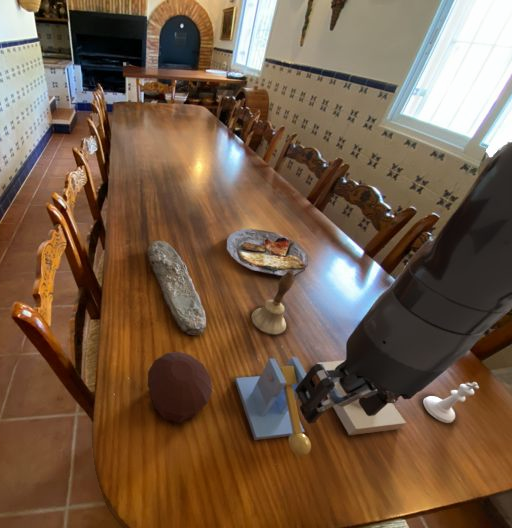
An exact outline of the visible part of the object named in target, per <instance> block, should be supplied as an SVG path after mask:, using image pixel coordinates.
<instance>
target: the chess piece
mask: <svg viewBox="0 0 512 528" xmlns="http://www.w3.org/2000/svg"><path fill="white" fill-rule="evenodd" d="M474 389H475V390H479V389H480V386H479V385H478V383H477V382H476V381H473V382H471V383H470V382H465V383H461V384H459V387H458V389H452V390H450V394H451V395H450V396H448V397H446V398H444V399H442V398H440V397H438V396H435V395H429V396H426V397H424V399H423V406H424V408H425V410H426V411H427V413H428V414H429V415H431V416H432V417H433V418H435V419H436V420H437V421H440V422H442V423H446V424H449V423H453V422H454V420H455V419H456V413H455V410H454V408H453V406H454V405H455V404H456V403H457V402H462V403H463V402H465V401H466V397H468V396H474V394H475V390H474Z"/></svg>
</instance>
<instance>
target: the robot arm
mask: <svg viewBox="0 0 512 528" xmlns="http://www.w3.org/2000/svg"><path fill="white" fill-rule="evenodd" d="M511 310H512V127H509V128H508V129H506V131H504V132H503V133H501V134H500V135H499V136H498V137H497V138H495V139H494V141H493V142H491V144H490V145H489V146H488V148H487V149H486V151H485V152H484V154H483V155H482V158H481V160H480V162H479V166H478V171H477V177H476V178H475V181H473V184H472V185H471V187H470V188H469V190H468V192H467V193H466V194H465V196H464V197H463V199H462V201H461V202H460V203H459V205H458V206H457V207H456V209H455V210H454V211H453V212H452V214H451V215H450V217H449V218H448V219H447V221H446V222H445V224H444V225H443V226H442V227H441V229H440V231H439V232H438V233H437V234H436V235H435V236H432V237H431V238H429V239H428V240H426V241H425V242H424V243H423V244H422V245H421V246H419V248H418V249H417V250H416V252H415V253H414V254H413V255H412V256H411V257H410V259H409V261H408V262H407V263H406V265H405V266H404V267H403V269H402V270H401V271H400V272H399V274H398V275H397V276H396V278H395V279H394V280H393V282H392V283H391V284H390V285H389V286H388V287H387V288H386V289H385V290H384V291H383V292H382V293H381V294H380V295H379V296H378V297H377V299H375V300H374V302H373V304H372V305H371V307H370V308H369V310H368V311H367V312H366V313H365V315H364V316H363V318H361V321H359V323H358V324H357V325H356V327H355V328H354V330H353V331H352V332H351V334H350V335H349V336H348V338H347V340H346V343H345V344H346V345H345V351H346V354H345V361H344V360H343V361H344V362H342V363H341V364H340V365H338V366H337V367H336V368H335V370H325V368H324V366H323V365H322V364H316V363H315V364H314V365H313V366H312V367H311V368H310V369H309V371H308V372H306V374H307V375H306V376H305V377H304V379H303V380H302V381H301V382H300V384H299V385H298V386H297V388H296V389H295V391H296V393H297V395H298V399H299V401H300V403H301V404H300V405H299V411H300V413H301V415H302V417H303V419H304V420H305V421H306V422H307V423H308V425H309V424H315V423H316V422H317V421H318V420H319V419H320V417H321V416H322V415H323V414H324V413H325V412H326V411H327V410H328V409H331V408H333V406H335V405H338V406H341V407H344V406H346V405H348V404H350V403H352V402H354V401H356V400H358V399H359V404H360V405H361V407H362V409H363V410H364V412H365V413H366V414H367V415H368V416H374V415H376V414H377V413H378V412H379V411H380V410H381V409H382V408H383V407H384V406H386V405H387V404H388V403H392V404H395V403H397V401H399V399H400V397H401V398H402V399H403V400H411V399H412V398H413V397H414V396H415V395H417V393H419V392H421V391H422V390H424V389H425V388H427V387H428V386H429V385H430V384H431V383H432V382H434V381H435V380H436V379H438V378H439V377H440V376H441V375H443V373H445V372H446V371H447V370H448V369H449V368H450V367H452V366H453V365H454V364H455V363H456V362H458V361H459V360H460V359H461V358H463V356H465V355H466V354H467V353H468V352H469V351H470V350H471V349H472V348H473V346H475V344H476V343H477V341H478V340H479V339H480V338H481V337H482V335H483V334H485V332H486V331H487V330H489V329H490V328H491V327H492V326H493V325H495V324H496V323H497V322H498V321H500V319H502V318H503V317H504V316H506V314H507V313H509V312H510V311H511ZM336 382H339V384H340V385H341V387H342V388H343V390H344V391H345V393H346V394H347V395H345V396H343V397H341V396H340V394H339V393H338V391H337V389H336V388H335V384H334V383H336ZM328 393H329V395H330V398H329V399H328V398H327V399H325V398H326V397H327V394H328ZM324 399H325V400H324Z"/></svg>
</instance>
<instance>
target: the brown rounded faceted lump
mask: <svg viewBox="0 0 512 528" xmlns="http://www.w3.org/2000/svg"><path fill="white" fill-rule="evenodd" d="M147 388H148V390H149V393H150V395H151V400H152V404H153V409H155V410H156V412H158V413H159V415H160V416H161V417H162V419H163V420H165V421H171V422H175V423H177V424H180V423H182V422H184V421H186V420H188V419H192V418H194V417H195V415H196V414H197V413H198V412H199V411H200V410H202V408H204V407H205V406H206V405H207V404H208V403H209V400H210V397H211V395H212V393H213V387H212V379H211V375H210V373H209V371H208V370H207V369H206V367H205V365H204V363H202V362H201V361H199V360H198V359H197V358H195V357H194V356H192V355H191V354H190V353H189V354H188V353H185V352H182V351H172V352H171V351H170V352H167V353H166V352H165V353H164V354H163V355H161V356H160V357H158V358H156V359H155V360H154V361H153V363H152V365H151V366H150V368H149V370H148V371H147Z"/></svg>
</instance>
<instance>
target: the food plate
mask: <svg viewBox="0 0 512 528" xmlns="http://www.w3.org/2000/svg"><path fill="white" fill-rule="evenodd" d="M226 251H227V252H228V254H229V255H230V256H231V258H233V259H234V260H235V261H236V262H237V263H239V264H240V265H241V266H243V267H245V268H247V269H249V270H251V271H256V272H261V273H264V274H269V275H274V276H281V277H282V276H283V275H284V274H286V273H287V271H288V270H292V271H294V277H295V276H297V275H300V274H301V273H303V272H305V271H306V269H307V268H308V265H309V259H308V254H307V252H306V251H305V250H304V248H302V247H301V246H300V245H299V244H298V243H297V242H295V241H294V240H292V239H291V238H288V237H286V236H284V235H281V234H279V233H277V232H273V231H268V230H262V229H254V228H242V229H238V230H236V231H234V232H232V233H230V234H229V235H228V237H227V239H226Z"/></svg>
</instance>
